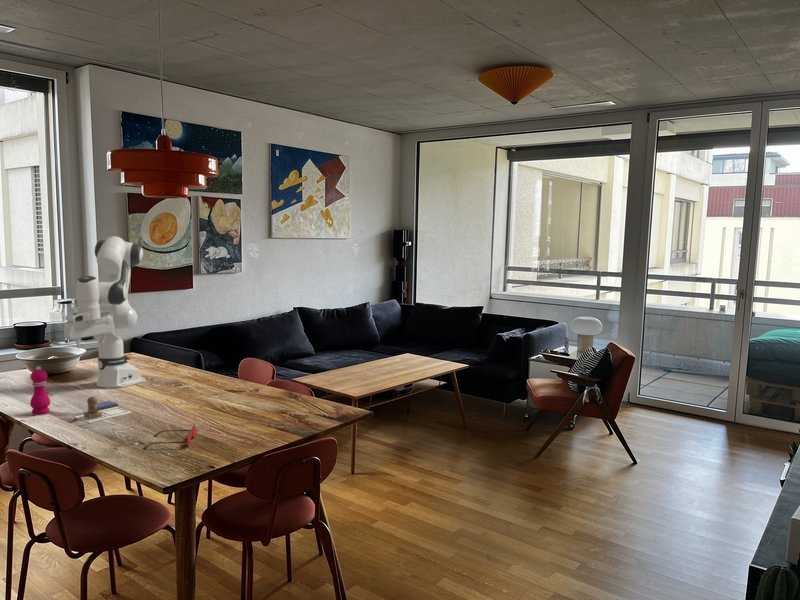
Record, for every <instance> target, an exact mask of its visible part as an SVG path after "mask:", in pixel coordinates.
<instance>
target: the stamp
mask: <svg viewBox="0 0 800 600" xmlns="http://www.w3.org/2000/svg"><path fill="white" fill-rule="evenodd" d="M98 401H99V400H98V398H97V397H96V396H90V397H88V398H87V400H86V403H87V408H88V410H87V411H85V412H83V415H84V417H85V418H87V419H94V418H99V417H102V412H100V411H101V410H99V411H97V403H99V402H98Z"/></svg>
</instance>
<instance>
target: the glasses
mask: <svg viewBox="0 0 800 600" xmlns="http://www.w3.org/2000/svg"><path fill="white" fill-rule="evenodd" d="M196 426H197V425H194V426H192V428H191V429H175V430H174V429H173V430H172V429H171V430H170V429H169V430H160V431H159V432H157V433H156V434H154V435H153V437H157V436H158V435H159V434H161V433H163V432H188V433H187V436H186V441H168V442H167V441H164V442H163V441H161V442H160V441H159V442H152V443H149V444H147V445H146V446H144V447H142V450H145V449H147V448H148V447H150V446H151V445H153V444H187V445H186V446H188V447H190V446H191V441H192V438H193V437H194V438H196V436H197V432H198V431H199V429H197V427H196Z"/></svg>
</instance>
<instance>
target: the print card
mask: <svg viewBox="0 0 800 600" xmlns="http://www.w3.org/2000/svg"><path fill="white" fill-rule="evenodd" d="M99 411H100V412H102V417H99V418H94V419H87V418H85V417H84V414H80V415H76V416H74V418H75V419H78V420H80V421H83V422H86V423H88V424H92V423H96V422H101V421H104V420H108V419H109V420H110V419H113V418H116V417H121V416H125V415H128V414H129V415H130V414H132V413H133V412H132V411H130V410H128V409H127V410H126V409H124V408H121V407H119V406H116V407H112V408H108V409H103V410H99Z"/></svg>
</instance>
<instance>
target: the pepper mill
mask: <svg viewBox="0 0 800 600" xmlns="http://www.w3.org/2000/svg"><path fill="white" fill-rule="evenodd" d="M47 379H48V373H47V371H46V370H44V369H42V367H41V366H39V365H38V366H36V367H35V370H33V371H32V372H31V374H30V380H31V384H32V387H33V394H32V397H31V399H30V403H29V404H30V407H31V408H32V410H31V414H32V415H33V416H43V415H47V414H49V413H50V407H49V406H50V405H51V399H50V397H49V395H48V394H47V391H46V385H47Z"/></svg>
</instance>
